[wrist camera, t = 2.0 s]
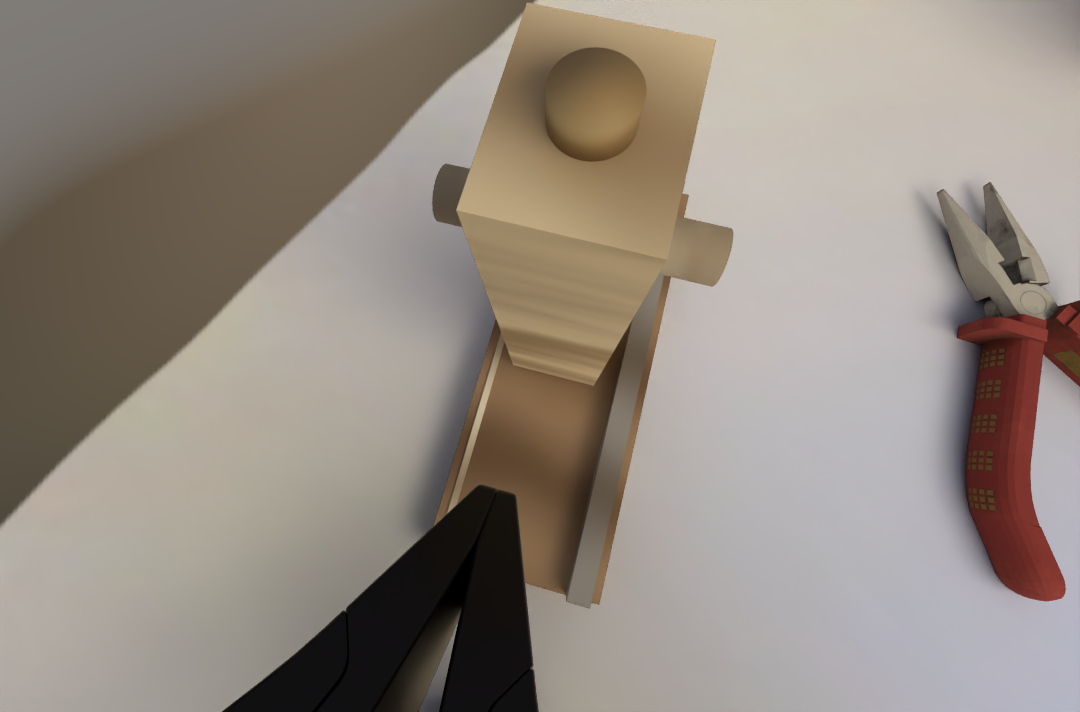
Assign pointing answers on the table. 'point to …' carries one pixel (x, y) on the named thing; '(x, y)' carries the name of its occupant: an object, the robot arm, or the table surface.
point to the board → (560, 451)
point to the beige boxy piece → (584, 185)
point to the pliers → (1009, 387)
